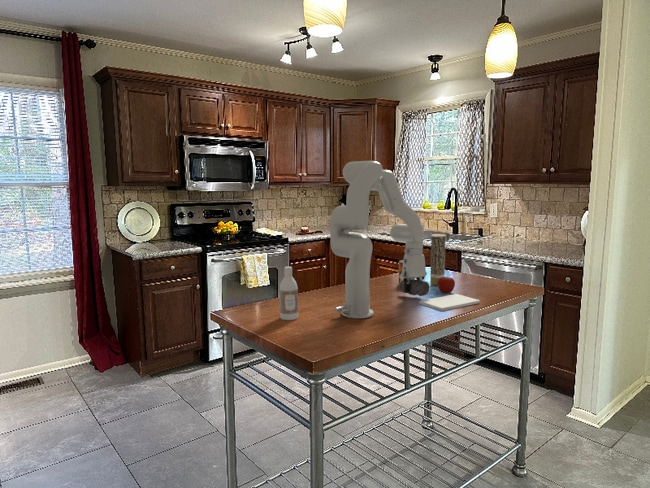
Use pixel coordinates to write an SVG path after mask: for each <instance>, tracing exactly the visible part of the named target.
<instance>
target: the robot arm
mask: <svg viewBox="0 0 650 488" xmlns="http://www.w3.org/2000/svg"><path fill="white" fill-rule="evenodd" d="M342 176H343V179H344V180H345V181H346V182H347V183H348V184H349V186H348V188H347V192H346V205H338V206H336V207H335V208H334V209H333V210H332V212H331V214H330V219H329V220H330V223H329V225H330V227H329V228H330V229H329V230H330V231H329V232H330V235H329V236H330V241H329V242H330V248H331V251H332V253H333V254H335V256H338V257H340V258H341V257H342V258H348V262H347V264H346V267H345V271H344V273H345V274H344V276H345V278H344V279H345V280H344V281H345V282H344V283H345V286H344V287H345V291H344V292H345V296H344V297H345V302H343V303H342V305H341V306H336V307H334V311H335V313H339V312H341V315H342V316H343V317H345V318H349V319H367V318H371V317H372V316H374V310H373V309H371V308H370V307H371V306H370V304H371V303H370V301H371V300H370V299H371V298H370V297H371V294H370V290H371V286H370V285H371V270H370V269H371V259H372V255H373V254H372V253H373V248H374V247H373V242H372V240H371V239H370V238H369V237H368V236H366V235H363V234H357V233H350V231H355V232H361V231H364V230H366V229H367V228H368V225H369V217H370V215H369V213H370V210H369V207H370V205H369V202H370V200H369V199H370V193H371V192H372V191H376V192H378V196H379V198H380V201H381V204H382V207H383V209H384V210H385V211H386V212H388V213H389V214H392V215H393V216H395V217H396V218H399V219H400V220H402V221H403V222H404V223H397V224H396V223H395V224H394V225H393V226H392V227H391V228H390V231H389V234H390V237H391V239H393V240H394V241H397V242H402V243H403V242H404V243H405V249H404V250H403V251H404V256H403V259H402V260H403V268H402V273H401V274H400V276H399V275H398V278H399V277H400V279H402V281H403V283H405V285H404V292H406V293H405V294H408V293H410V284H409V283H410V280H411V278H415V280H419V281H420V280H421V281H424V279H425V278H426V276H427V274H428V273H427V271H426V257H425V255H424V225H423V224H422V222H421V219H420V216H419V215H418V214H417V212H415V210H414V209H412V207H411V206H410V205H409V204H408V203H406V202H405V201H404V199H403V196H402V193H401V190H400V187H399V186H400V185H399V184H398V181H397V179H396V175H395V173H394V172H393V171H391V170H389V169H383V165H382V164H381V163H380V162H378V161H376V160H360V161H357V160H356V161H349V162H347V163H346V164H345V165H344V167H343V169H342ZM404 277H405V278H404ZM407 278H408V280H407ZM404 292H403V293H404Z"/></svg>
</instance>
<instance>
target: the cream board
mask: <svg viewBox="0 0 650 488" xmlns="http://www.w3.org/2000/svg"><path fill="white" fill-rule="evenodd" d="M480 303H481V301H480V299H478V298H477V299H476V298H472V297H470V296H466V295H462V294H459V293H455V294H449V295H443V296H439V297H434V298H426V299H423V300H422V299H421V300H419V305H423V306H426V307H429V308H430V309H431V308H432V309H434V310H437V311H441V312H443V311H448V310H453V309H457V308H462V307H467V306H472V305H477V304H480Z"/></svg>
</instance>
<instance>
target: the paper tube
mask: <svg viewBox="0 0 650 488" xmlns="http://www.w3.org/2000/svg"><path fill="white" fill-rule="evenodd" d="M430 239H431V240H430V273H429V274H430V276H429V277H430V278H429V279H430V282H429V285H432V286H435V287H438V280H439V279H440V278H441V277H445V273H446V272H445V271H446V268H445V267H446V240H447V239H446V234H443V233H441V234H440V233H434V234H431V238H430Z"/></svg>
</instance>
